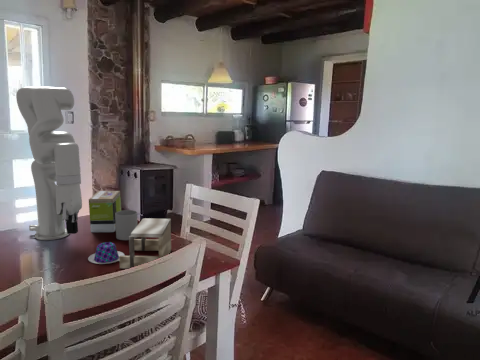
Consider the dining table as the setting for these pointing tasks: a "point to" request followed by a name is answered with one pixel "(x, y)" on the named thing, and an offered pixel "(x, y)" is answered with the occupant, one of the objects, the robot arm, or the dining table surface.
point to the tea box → (104, 210)
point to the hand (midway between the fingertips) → (72, 232)
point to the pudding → (105, 253)
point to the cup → (125, 223)
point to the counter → (148, 241)
